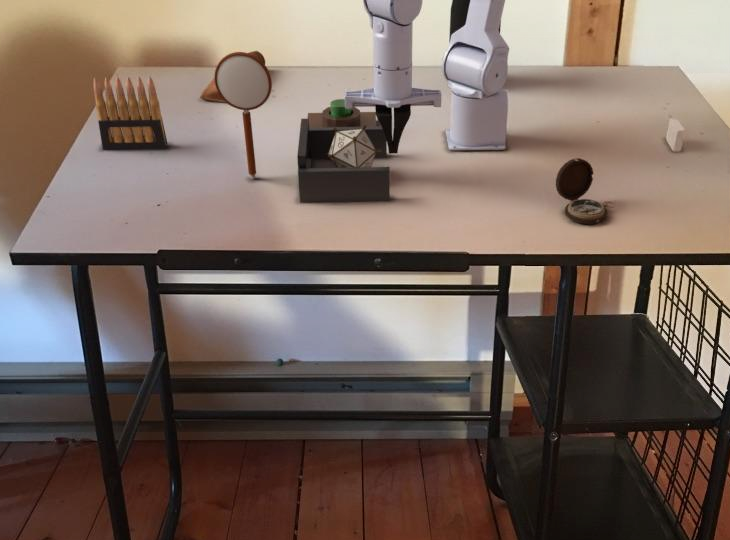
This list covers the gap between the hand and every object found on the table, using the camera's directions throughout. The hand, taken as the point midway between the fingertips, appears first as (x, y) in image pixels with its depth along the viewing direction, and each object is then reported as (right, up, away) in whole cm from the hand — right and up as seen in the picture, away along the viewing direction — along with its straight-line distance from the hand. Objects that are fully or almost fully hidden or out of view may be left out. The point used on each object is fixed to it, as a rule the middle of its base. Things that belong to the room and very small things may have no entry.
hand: (393, 150), depth 146 cm
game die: (-6, -3, +3) cm, 8 cm away
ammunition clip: (-44, +4, +12) cm, 45 cm away
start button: (-9, +10, +15) cm, 20 cm away
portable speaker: (+16, +22, +34) cm, 44 cm away
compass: (+29, -11, -7) cm, 32 cm away
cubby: (-7, -4, +3) cm, 8 cm away
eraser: (+47, +4, +11) cm, 49 cm away
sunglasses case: (-30, +22, +34) cm, 51 cm away
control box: (-9, +8, +16) cm, 20 cm away
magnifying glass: (-22, -4, +2) cm, 23 cm away
